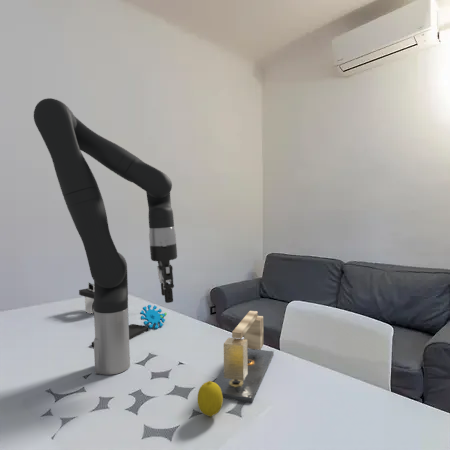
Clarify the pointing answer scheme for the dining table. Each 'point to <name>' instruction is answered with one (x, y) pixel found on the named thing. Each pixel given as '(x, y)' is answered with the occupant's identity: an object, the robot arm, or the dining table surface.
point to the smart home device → (134, 331)
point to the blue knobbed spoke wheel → (153, 316)
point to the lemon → (210, 398)
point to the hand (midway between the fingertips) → (167, 298)
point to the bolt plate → (249, 378)
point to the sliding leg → (250, 330)
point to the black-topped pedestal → (88, 298)
